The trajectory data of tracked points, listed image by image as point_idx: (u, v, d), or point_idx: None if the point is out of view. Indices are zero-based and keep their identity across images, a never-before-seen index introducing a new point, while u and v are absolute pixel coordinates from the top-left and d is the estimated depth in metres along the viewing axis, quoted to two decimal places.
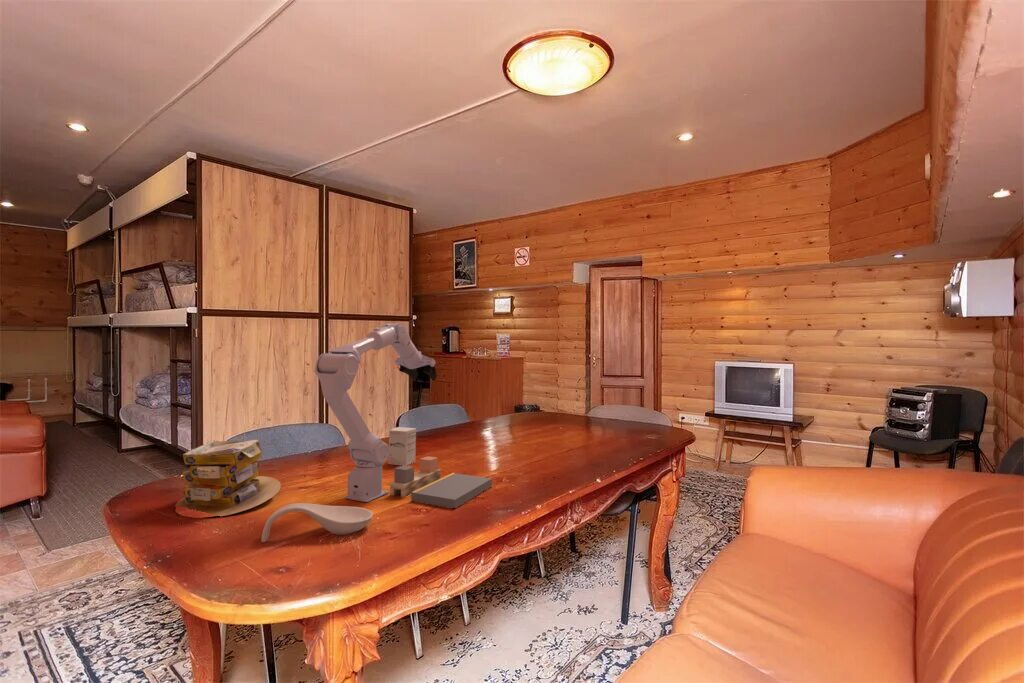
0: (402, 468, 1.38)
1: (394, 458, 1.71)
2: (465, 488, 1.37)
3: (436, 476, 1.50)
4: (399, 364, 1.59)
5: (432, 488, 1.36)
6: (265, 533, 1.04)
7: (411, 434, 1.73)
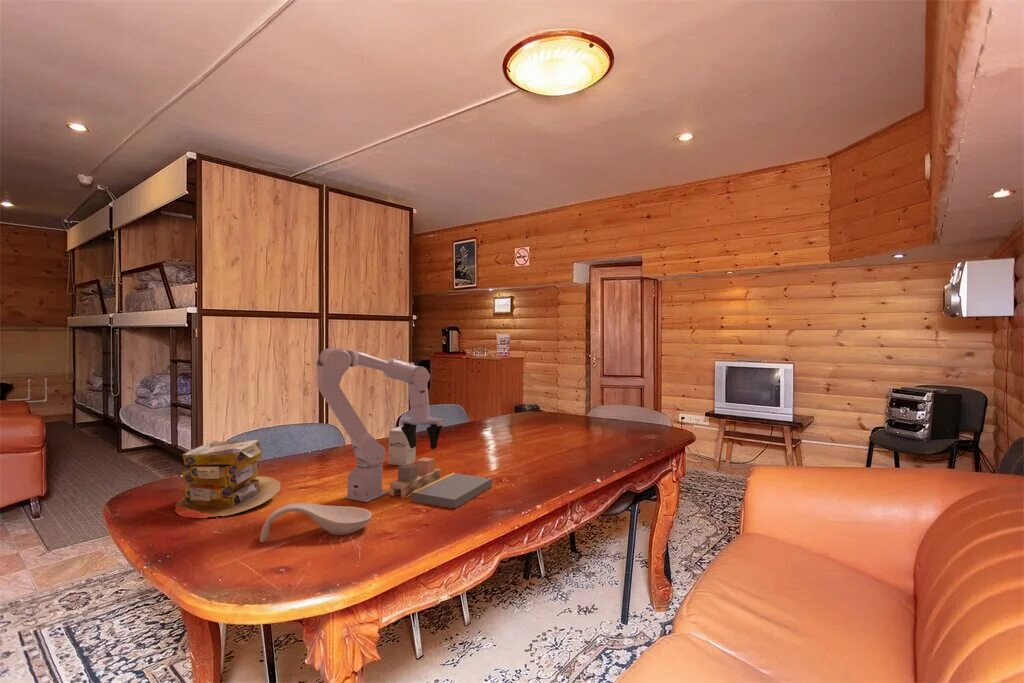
0: (406, 467, 1.39)
1: (394, 458, 1.71)
2: (465, 488, 1.37)
3: (436, 476, 1.50)
4: (403, 423, 1.49)
5: (432, 488, 1.36)
6: (264, 533, 1.04)
7: None
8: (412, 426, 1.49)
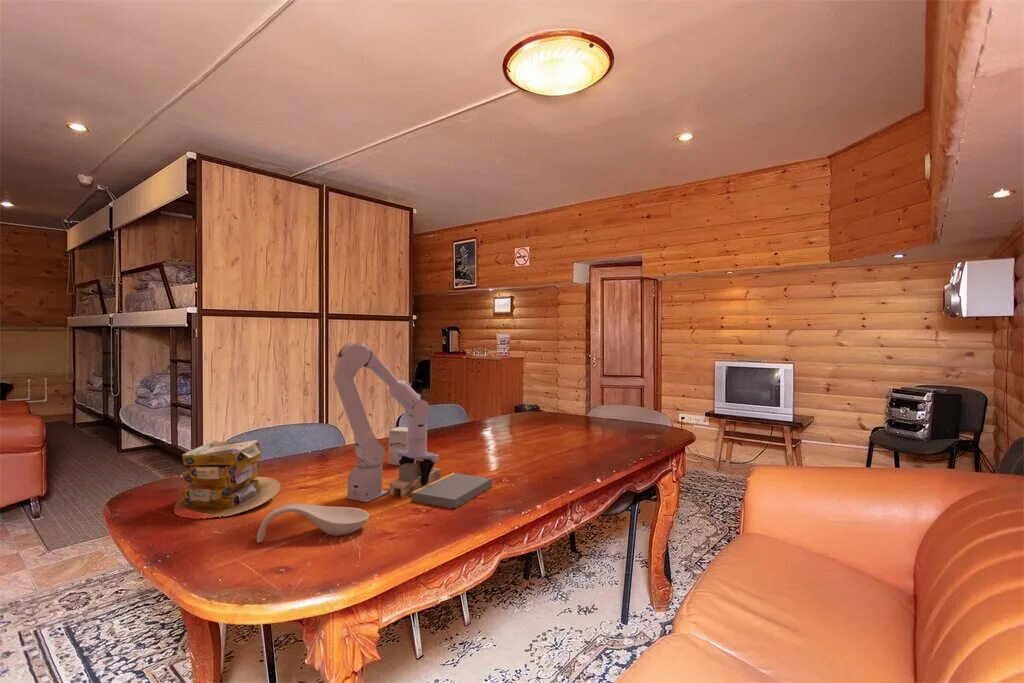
0: (406, 466, 1.40)
1: (394, 458, 1.71)
2: (465, 488, 1.37)
3: (436, 475, 1.50)
4: (399, 456, 1.47)
5: (432, 488, 1.36)
6: (261, 533, 1.04)
7: None
8: (410, 460, 1.46)
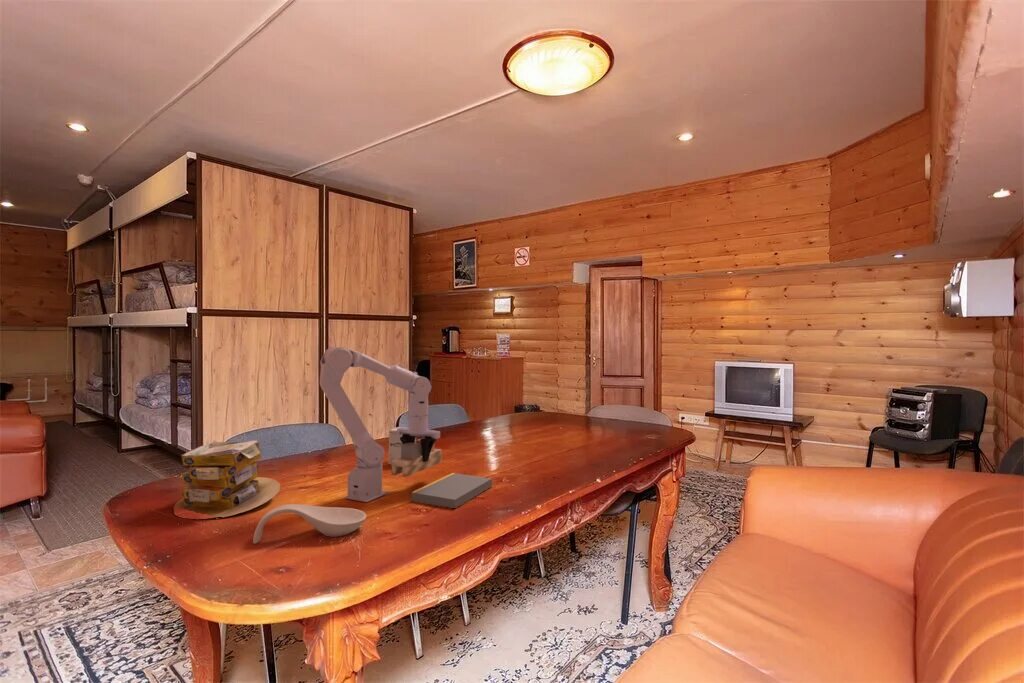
0: (408, 444, 1.40)
1: (394, 458, 1.71)
2: (465, 488, 1.37)
3: (437, 456, 1.50)
4: (400, 433, 1.46)
5: (432, 488, 1.36)
6: (257, 534, 1.04)
7: None
8: (411, 437, 1.46)
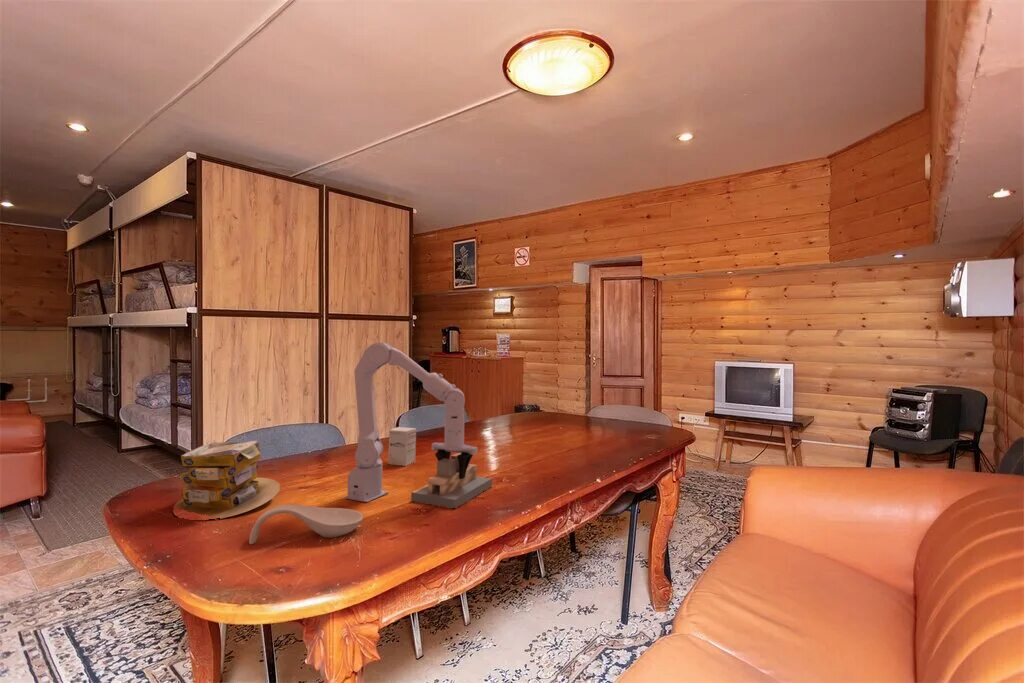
0: (445, 461, 1.35)
1: (394, 458, 1.71)
2: (465, 488, 1.37)
3: (472, 472, 1.45)
4: (434, 448, 1.41)
5: None
6: (253, 535, 1.03)
7: (411, 434, 1.73)
8: (447, 453, 1.41)
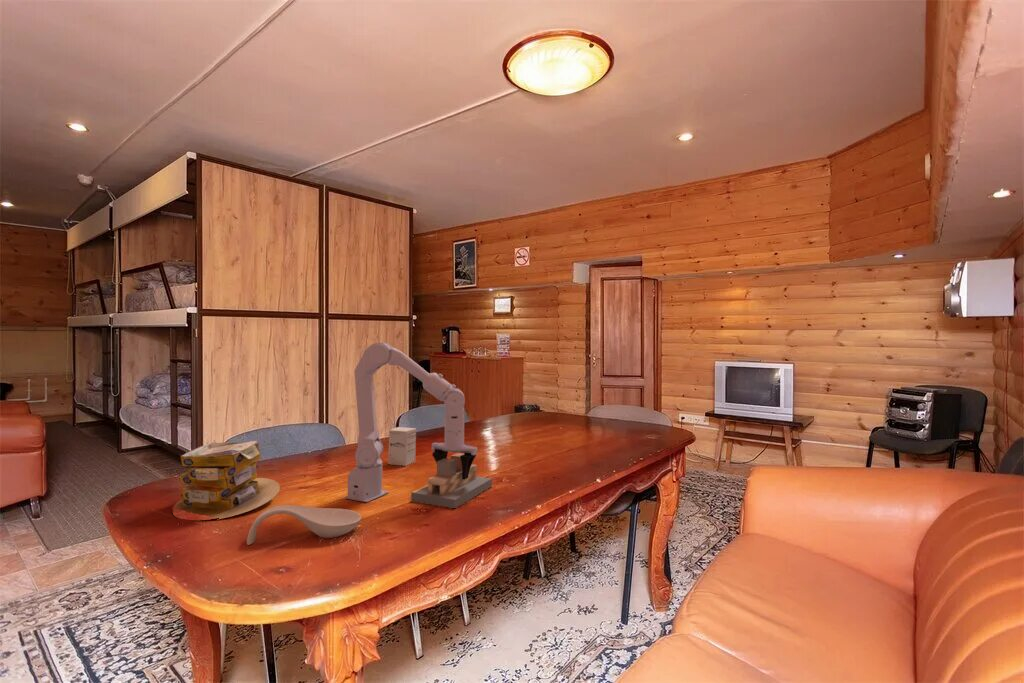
0: (445, 461, 1.35)
1: (394, 458, 1.71)
2: (465, 488, 1.37)
3: (472, 472, 1.45)
4: (434, 448, 1.41)
5: None
6: (251, 535, 1.03)
7: (411, 434, 1.73)
8: (444, 452, 1.41)
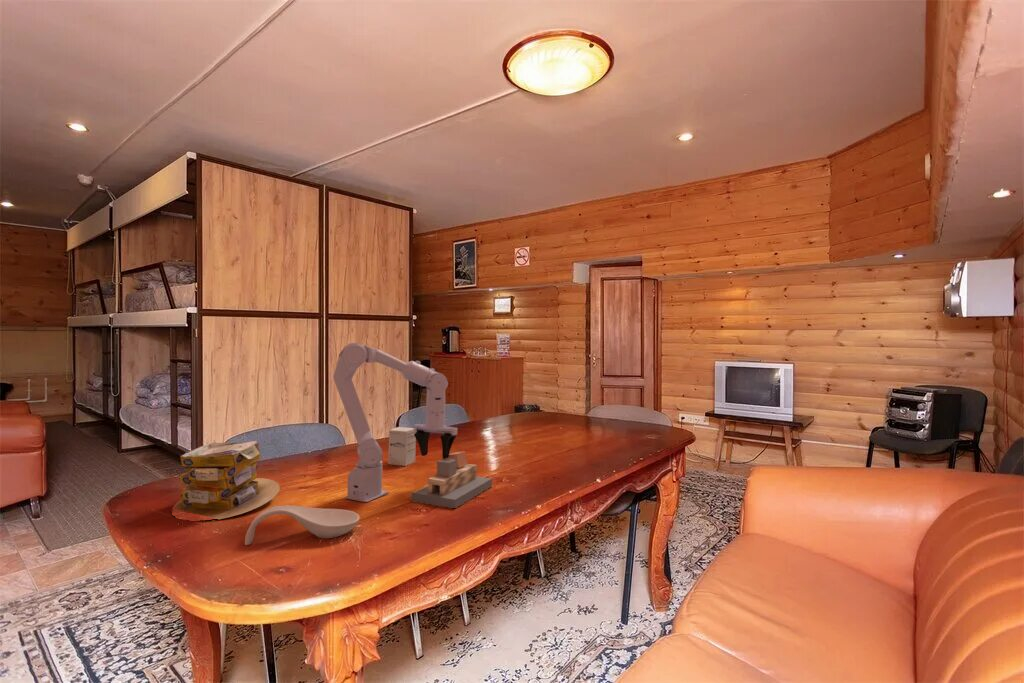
0: (445, 461, 1.35)
1: (394, 458, 1.71)
2: (465, 488, 1.37)
3: (472, 472, 1.45)
4: (417, 429, 1.46)
5: None
6: (249, 536, 1.03)
7: (411, 434, 1.73)
8: (425, 433, 1.46)
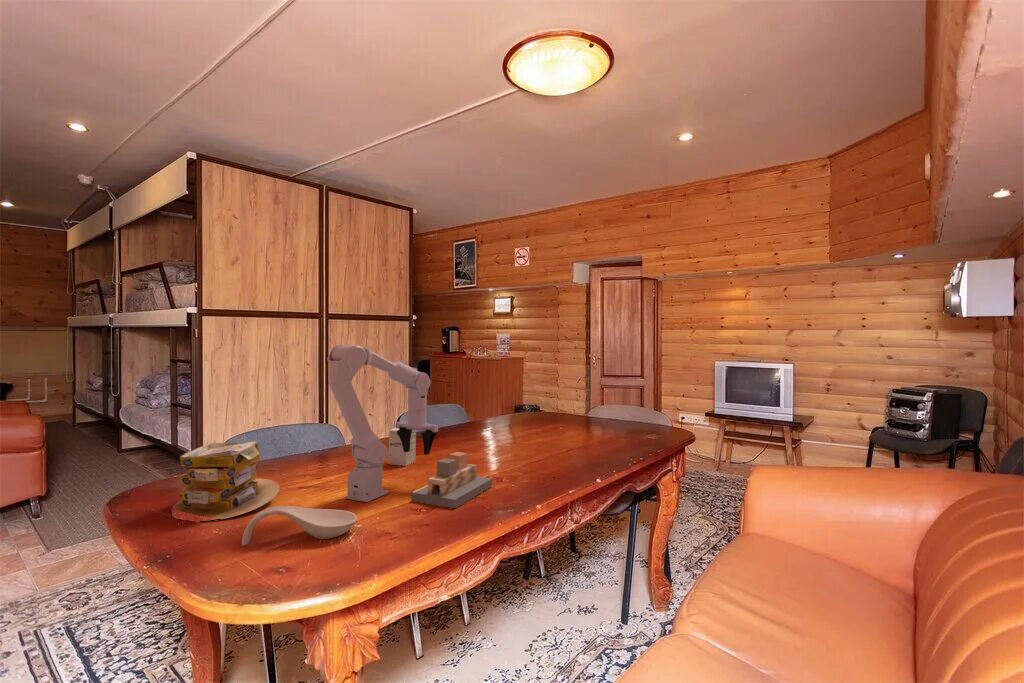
0: (445, 461, 1.35)
1: (394, 458, 1.71)
2: (465, 488, 1.37)
3: (472, 472, 1.45)
4: (399, 427, 1.51)
5: None
6: (246, 536, 1.02)
7: (411, 434, 1.73)
8: (408, 431, 1.52)
